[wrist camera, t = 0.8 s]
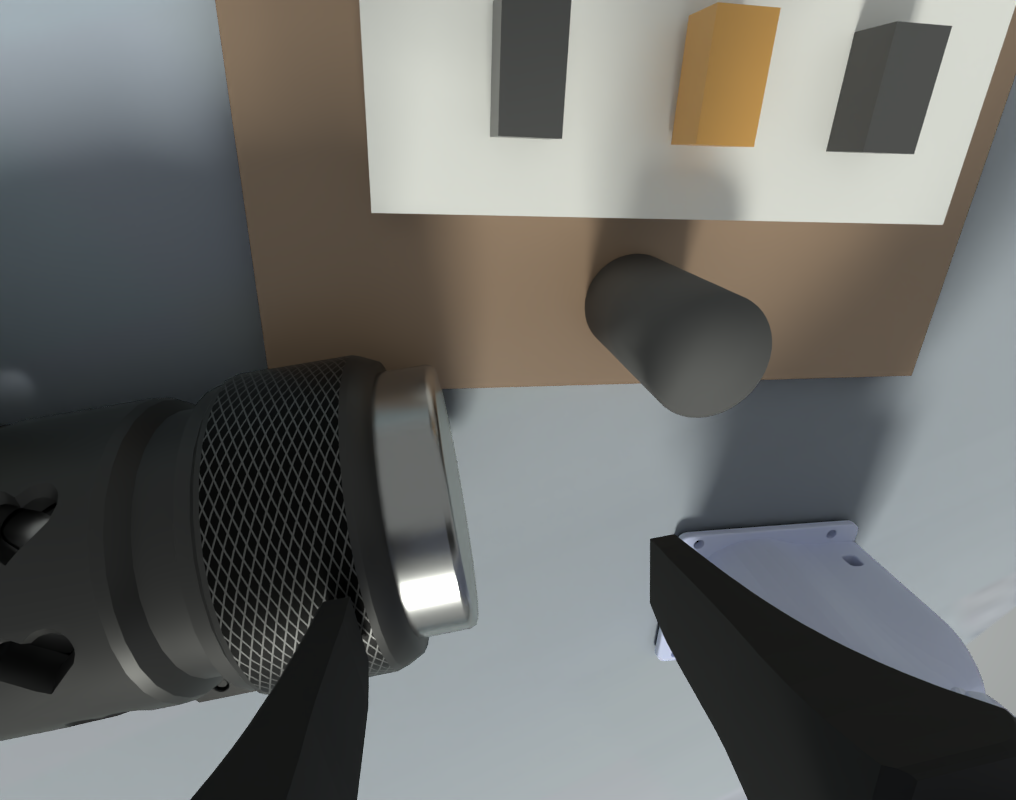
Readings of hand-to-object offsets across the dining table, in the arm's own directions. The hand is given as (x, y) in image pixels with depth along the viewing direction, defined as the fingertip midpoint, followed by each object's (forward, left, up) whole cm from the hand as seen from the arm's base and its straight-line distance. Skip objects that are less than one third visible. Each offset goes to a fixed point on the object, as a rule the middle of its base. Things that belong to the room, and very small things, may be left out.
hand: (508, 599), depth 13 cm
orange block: (-6, -12, -6) cm, 14 cm away
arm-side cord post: (-6, -5, -9) cm, 12 cm away
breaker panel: (-6, -12, -10) cm, 17 cm away
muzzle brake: (+14, +8, -5) cm, 17 cm away
